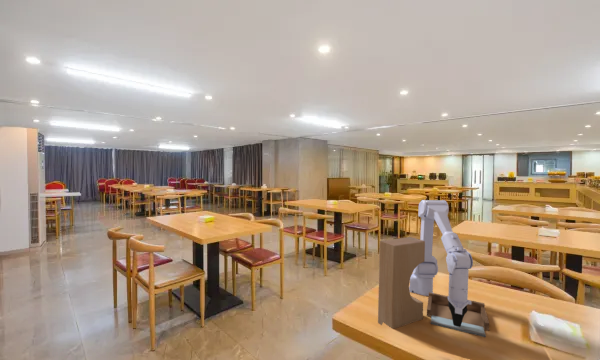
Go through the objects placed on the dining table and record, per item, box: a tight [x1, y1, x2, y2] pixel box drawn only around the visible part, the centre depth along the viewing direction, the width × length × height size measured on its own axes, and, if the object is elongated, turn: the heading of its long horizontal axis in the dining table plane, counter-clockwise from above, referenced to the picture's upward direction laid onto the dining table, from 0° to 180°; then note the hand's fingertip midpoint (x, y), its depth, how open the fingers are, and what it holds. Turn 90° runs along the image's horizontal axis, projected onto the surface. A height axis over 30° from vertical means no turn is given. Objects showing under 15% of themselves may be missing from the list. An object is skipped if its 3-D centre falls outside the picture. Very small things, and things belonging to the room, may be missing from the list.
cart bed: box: [426, 292, 490, 332], centre depth 104 cm, size 19×14×5 cm
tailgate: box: [430, 315, 487, 338], centre depth 96 cm, size 16×1×6 cm
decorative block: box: [377, 236, 425, 330], centre depth 100 cm, size 15×8×30 cm, turn 116°
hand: (456, 325), depth 96 cm, fingers closed
